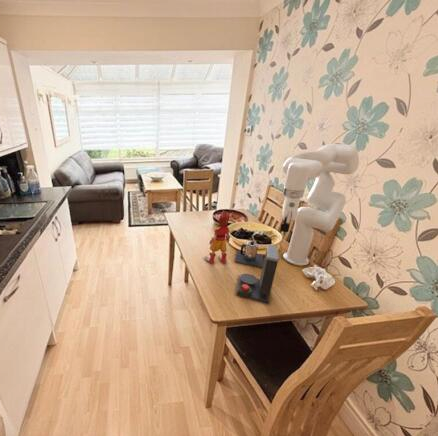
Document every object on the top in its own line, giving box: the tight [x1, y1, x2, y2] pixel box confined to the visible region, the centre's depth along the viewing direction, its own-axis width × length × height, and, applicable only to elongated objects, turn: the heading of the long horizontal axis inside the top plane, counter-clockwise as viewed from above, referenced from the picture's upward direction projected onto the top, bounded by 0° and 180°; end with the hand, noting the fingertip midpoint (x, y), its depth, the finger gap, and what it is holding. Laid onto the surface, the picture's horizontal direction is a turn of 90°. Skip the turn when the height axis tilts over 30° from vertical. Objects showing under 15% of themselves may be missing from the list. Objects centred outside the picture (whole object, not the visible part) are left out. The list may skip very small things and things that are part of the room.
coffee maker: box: [236, 277, 269, 305], centre depth 112 cm, size 15×13×3 cm
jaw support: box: [301, 264, 336, 291], centre depth 114 cm, size 12×9×10 cm
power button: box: [242, 284, 249, 291], centre depth 109 cm, size 3×3×2 cm
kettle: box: [240, 240, 259, 261], centre depth 133 cm, size 9×8×11 cm
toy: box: [204, 209, 231, 264], centre depth 129 cm, size 12×9×30 cm
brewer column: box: [239, 244, 280, 296], centre depth 108 cm, size 13×13×19 cm
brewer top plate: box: [234, 249, 264, 269], centre depth 136 cm, size 14×14×1 cm
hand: (283, 230), depth 108 cm, fingers closed
